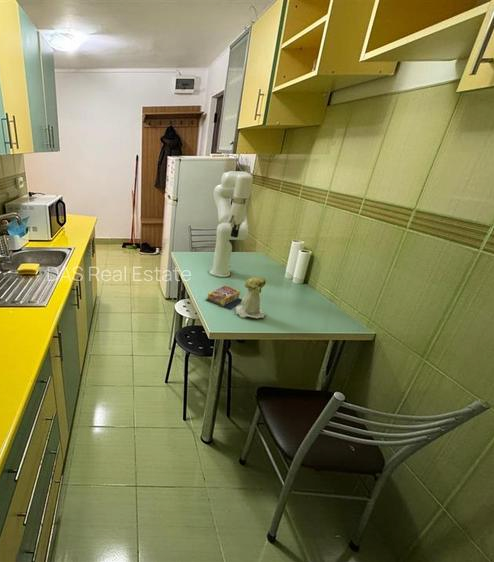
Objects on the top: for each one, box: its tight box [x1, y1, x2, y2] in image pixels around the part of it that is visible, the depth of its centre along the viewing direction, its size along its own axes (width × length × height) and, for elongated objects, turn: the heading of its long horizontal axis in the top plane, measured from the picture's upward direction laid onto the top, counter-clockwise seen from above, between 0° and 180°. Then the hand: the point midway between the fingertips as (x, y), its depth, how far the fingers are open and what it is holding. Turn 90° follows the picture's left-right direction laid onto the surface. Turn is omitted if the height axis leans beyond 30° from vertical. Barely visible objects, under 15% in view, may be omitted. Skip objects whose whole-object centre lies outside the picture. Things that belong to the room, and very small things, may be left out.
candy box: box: [206, 285, 241, 307], centre depth 154 cm, size 9×4×15 cm
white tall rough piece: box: [235, 276, 267, 319], centre depth 138 cm, size 12×13×18 cm
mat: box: [206, 297, 243, 310], centre depth 154 cm, size 14×13×1 cm
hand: (234, 236), depth 158 cm, fingers closed
